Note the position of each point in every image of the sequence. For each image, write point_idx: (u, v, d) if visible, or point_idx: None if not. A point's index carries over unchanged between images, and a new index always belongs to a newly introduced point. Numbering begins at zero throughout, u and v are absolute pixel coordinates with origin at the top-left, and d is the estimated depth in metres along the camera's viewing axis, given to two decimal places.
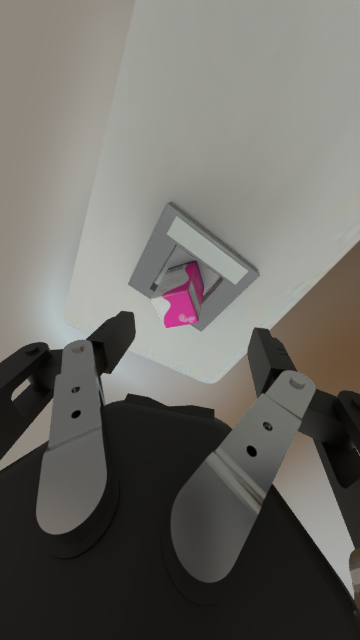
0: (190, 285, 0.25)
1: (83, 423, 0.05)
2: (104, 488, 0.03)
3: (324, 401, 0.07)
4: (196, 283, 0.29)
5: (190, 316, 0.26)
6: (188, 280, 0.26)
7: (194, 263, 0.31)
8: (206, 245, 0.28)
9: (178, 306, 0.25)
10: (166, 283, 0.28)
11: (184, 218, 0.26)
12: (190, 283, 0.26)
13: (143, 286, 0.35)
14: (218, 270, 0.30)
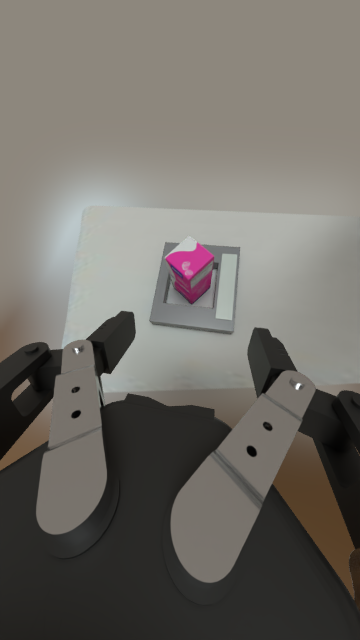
0: (211, 265, 0.29)
1: (83, 424, 0.05)
2: (104, 488, 0.03)
3: (324, 401, 0.07)
4: (204, 282, 0.33)
5: (191, 270, 0.27)
6: None
7: None
8: (231, 281, 0.35)
9: (195, 256, 0.27)
10: None
11: (238, 260, 0.36)
12: (212, 266, 0.29)
13: None
14: (218, 299, 0.34)
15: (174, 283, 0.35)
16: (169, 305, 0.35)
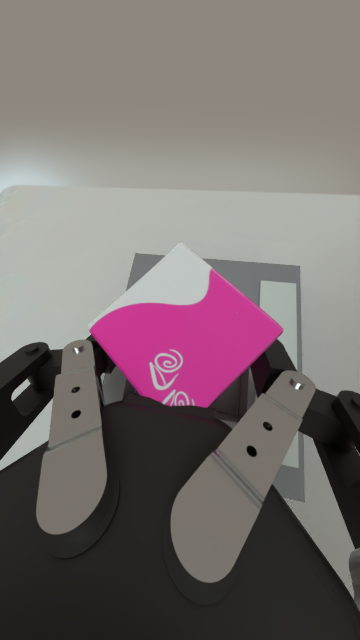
0: None
1: (83, 424, 0.05)
2: (104, 488, 0.03)
3: (324, 401, 0.07)
4: None
5: (189, 393, 0.06)
6: None
7: None
8: None
9: (207, 329, 0.07)
10: None
11: (298, 297, 0.16)
12: None
13: None
14: None
15: None
16: None
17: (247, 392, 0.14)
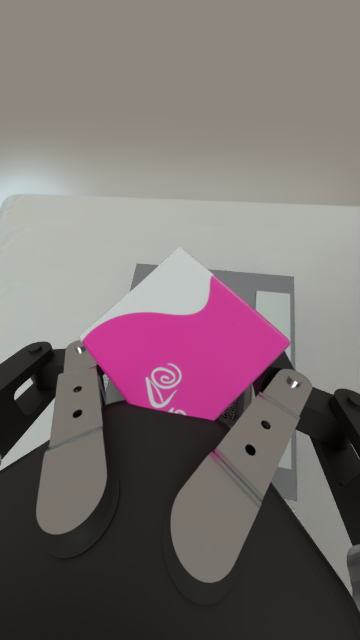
0: None
1: (84, 423, 0.05)
2: (104, 489, 0.03)
3: (321, 399, 0.07)
4: None
5: (188, 411, 0.06)
6: None
7: None
8: None
9: (208, 342, 0.06)
10: None
11: (292, 306, 0.16)
12: None
13: None
14: None
15: None
16: None
17: (243, 398, 0.15)
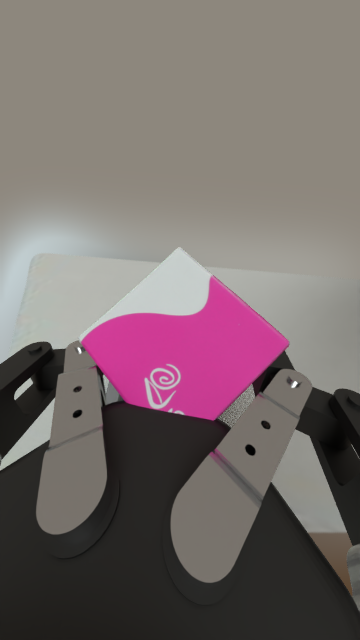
0: None
1: (84, 423, 0.05)
2: (104, 489, 0.03)
3: (321, 399, 0.07)
4: None
5: (187, 412, 0.06)
6: None
7: None
8: None
9: (206, 343, 0.06)
10: None
11: None
12: None
13: None
14: None
15: None
16: None
17: None
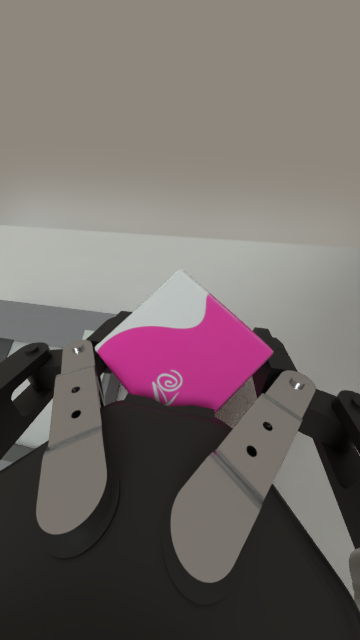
0: None
1: (83, 424, 0.05)
2: (104, 488, 0.03)
3: (324, 401, 0.07)
4: None
5: None
6: None
7: None
8: None
9: (204, 352, 0.07)
10: None
11: None
12: None
13: None
14: None
15: None
16: None
17: None
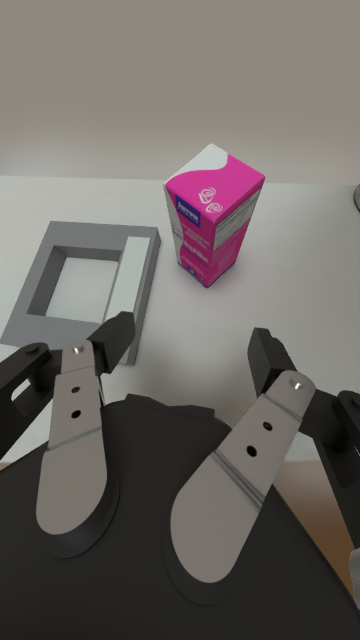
0: (253, 205, 0.15)
1: (83, 423, 0.05)
2: (104, 488, 0.03)
3: (324, 401, 0.07)
4: (233, 245, 0.19)
5: (219, 203, 0.13)
6: None
7: None
8: (134, 279, 0.22)
9: (227, 178, 0.13)
10: None
11: (151, 247, 0.23)
12: (253, 208, 0.16)
13: (54, 237, 0.25)
14: (110, 308, 0.21)
15: (179, 251, 0.21)
16: (34, 318, 0.22)
17: None
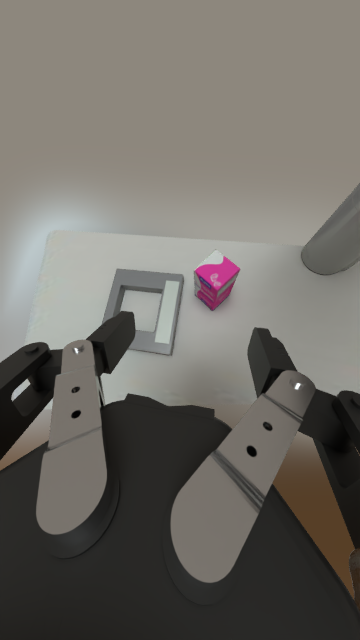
0: (236, 276, 0.32)
1: (83, 423, 0.05)
2: (104, 488, 0.03)
3: (324, 401, 0.07)
4: (227, 291, 0.35)
5: (219, 281, 0.29)
6: (235, 276, 0.33)
7: (229, 292, 0.39)
8: (171, 307, 0.38)
9: (223, 269, 0.30)
10: None
11: (180, 287, 0.39)
12: (236, 277, 0.32)
13: (120, 279, 0.41)
14: (159, 323, 0.37)
15: (197, 291, 0.38)
16: None
17: (156, 322, 0.38)
